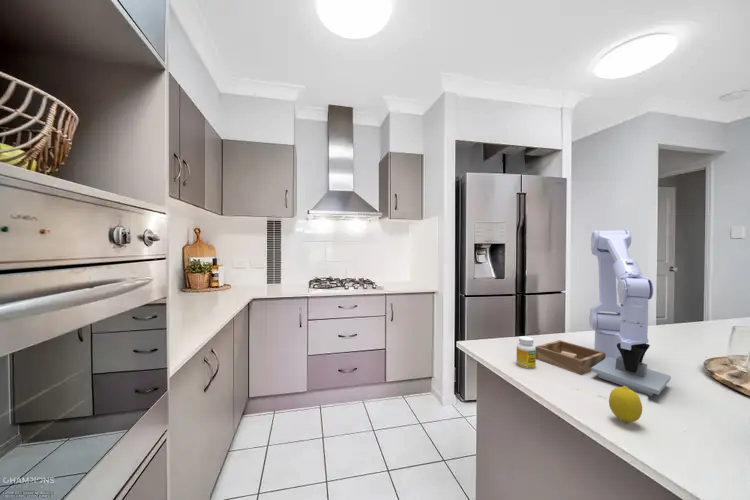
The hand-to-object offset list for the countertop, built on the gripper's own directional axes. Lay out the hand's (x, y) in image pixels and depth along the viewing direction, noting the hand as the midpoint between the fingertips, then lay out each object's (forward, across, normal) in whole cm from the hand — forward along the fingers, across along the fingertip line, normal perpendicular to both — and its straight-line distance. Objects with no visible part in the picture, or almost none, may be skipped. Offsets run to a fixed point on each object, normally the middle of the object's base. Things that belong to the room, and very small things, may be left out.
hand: (632, 369), depth 81 cm
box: (+4, -1, -16) cm, 17 cm away
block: (+3, -2, -17) cm, 17 cm away
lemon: (+4, +24, +4) cm, 24 cm away
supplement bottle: (+4, +13, -23) cm, 27 cm away
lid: (+3, 0, -1) cm, 3 cm away
